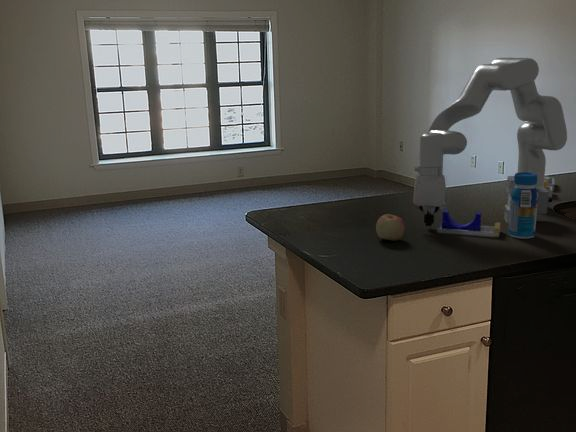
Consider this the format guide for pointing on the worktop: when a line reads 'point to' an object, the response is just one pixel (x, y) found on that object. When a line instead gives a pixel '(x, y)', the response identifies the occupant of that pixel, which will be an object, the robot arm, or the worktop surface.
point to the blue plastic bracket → (450, 224)
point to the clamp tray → (548, 188)
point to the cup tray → (551, 183)
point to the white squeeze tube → (484, 232)
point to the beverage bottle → (523, 206)
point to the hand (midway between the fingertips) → (428, 225)
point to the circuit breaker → (541, 199)
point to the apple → (390, 227)
